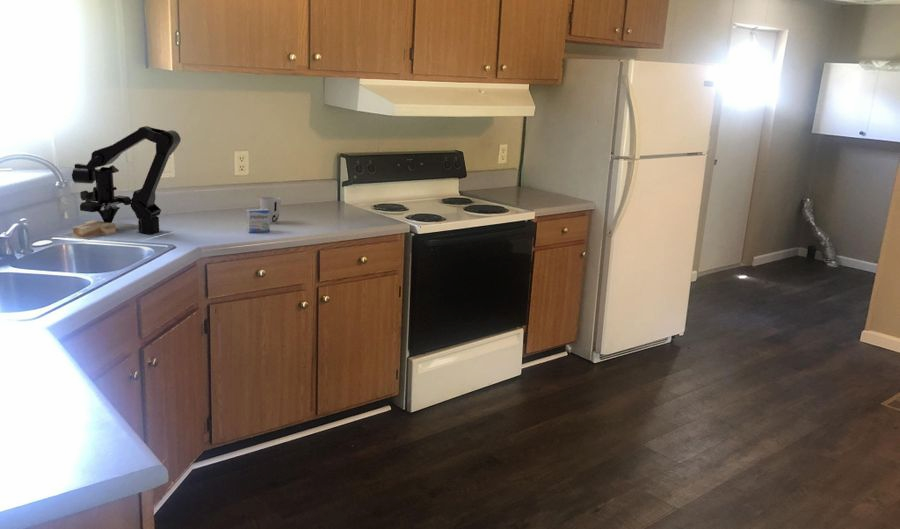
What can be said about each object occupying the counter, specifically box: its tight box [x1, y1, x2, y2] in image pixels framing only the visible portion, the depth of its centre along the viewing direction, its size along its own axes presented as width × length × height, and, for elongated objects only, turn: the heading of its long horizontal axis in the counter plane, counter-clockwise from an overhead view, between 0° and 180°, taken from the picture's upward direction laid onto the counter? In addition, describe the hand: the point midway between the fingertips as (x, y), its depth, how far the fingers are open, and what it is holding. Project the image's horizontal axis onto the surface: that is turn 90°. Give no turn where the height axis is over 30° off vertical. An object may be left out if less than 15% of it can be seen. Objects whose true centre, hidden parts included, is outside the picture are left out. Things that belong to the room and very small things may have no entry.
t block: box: [72, 219, 116, 237], centre depth 256 cm, size 10×12×3 cm
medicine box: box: [245, 208, 271, 234], centre depth 274 cm, size 8×4×9 cm, turn 117°
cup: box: [259, 196, 281, 225], centre depth 290 cm, size 8×8×10 cm
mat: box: [62, 221, 139, 241], centre depth 261 cm, size 12×26×1 cm, turn 161°
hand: (107, 226), depth 262 cm, fingers closed
